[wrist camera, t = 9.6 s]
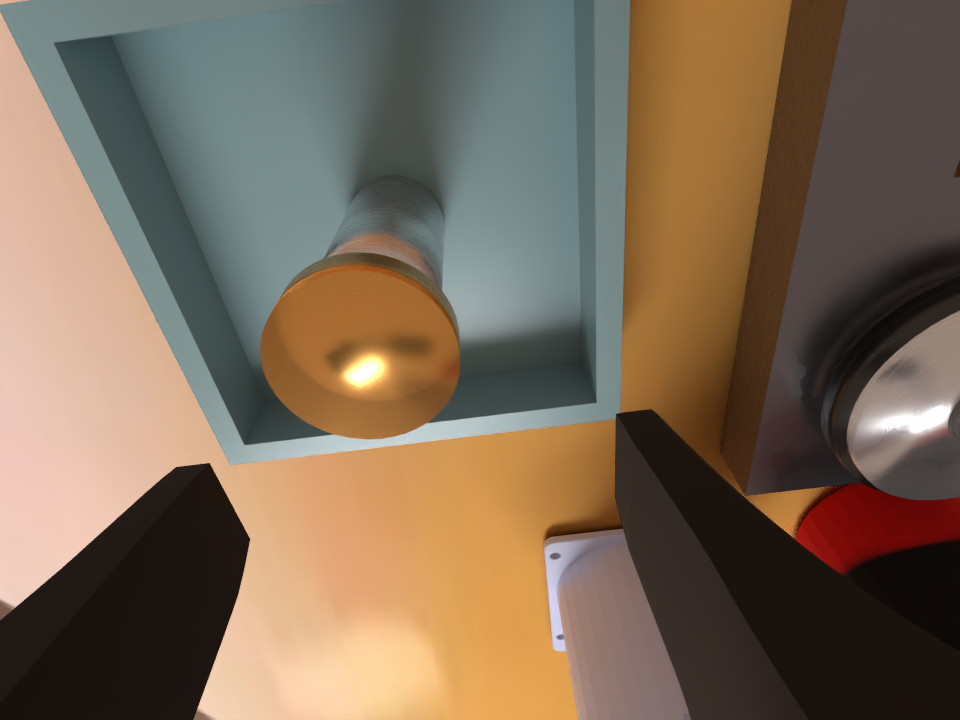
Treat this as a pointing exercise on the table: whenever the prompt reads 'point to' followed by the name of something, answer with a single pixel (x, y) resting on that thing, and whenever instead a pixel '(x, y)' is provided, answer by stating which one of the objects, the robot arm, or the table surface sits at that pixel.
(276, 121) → the tray
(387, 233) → the lock pin
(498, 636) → the table surface
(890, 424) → the bracket
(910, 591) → the soda can
